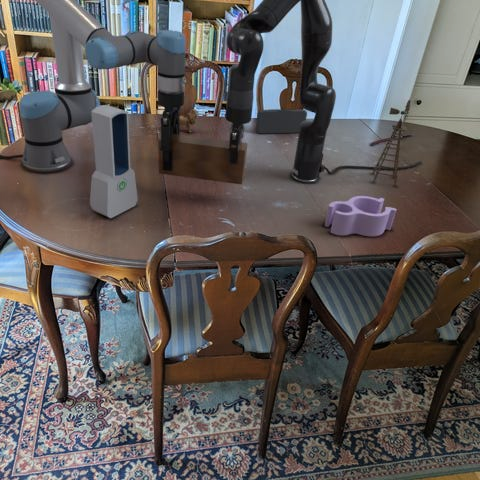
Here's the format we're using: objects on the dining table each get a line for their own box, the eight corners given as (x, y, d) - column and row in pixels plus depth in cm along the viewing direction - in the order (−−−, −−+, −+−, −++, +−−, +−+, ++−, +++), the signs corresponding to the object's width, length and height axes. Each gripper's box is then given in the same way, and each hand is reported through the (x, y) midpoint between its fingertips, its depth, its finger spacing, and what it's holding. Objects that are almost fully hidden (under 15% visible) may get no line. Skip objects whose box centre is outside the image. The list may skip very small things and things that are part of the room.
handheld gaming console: (301, 130, 212) (305, 108, 207) (304, 132, 210) (308, 110, 205) (254, 131, 205) (257, 109, 200) (256, 134, 203) (259, 111, 197)
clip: (337, 240, 135) (342, 219, 131) (318, 218, 145) (322, 198, 141) (395, 233, 141) (402, 213, 137) (373, 213, 151) (378, 194, 147)
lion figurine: (196, 128, 202) (197, 107, 197) (199, 132, 198) (200, 111, 193) (162, 129, 197) (162, 108, 192) (165, 133, 193) (165, 112, 188)
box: (158, 173, 143) (158, 139, 137) (163, 165, 149) (163, 132, 143) (241, 184, 142) (245, 150, 136) (244, 176, 147) (247, 143, 141)
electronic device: (108, 220, 133) (101, 117, 116) (89, 211, 136) (79, 109, 119) (138, 204, 142) (135, 106, 125) (120, 196, 145) (115, 100, 129)
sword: (408, 133, 222) (409, 131, 221) (413, 135, 220) (414, 133, 219) (365, 145, 206) (365, 142, 205) (370, 147, 204) (371, 145, 203)
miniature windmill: (395, 186, 170) (420, 105, 154) (372, 182, 171) (394, 101, 155) (394, 176, 177) (417, 97, 161) (371, 173, 178) (392, 94, 162)
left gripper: (175, 101, 124) (174, 180, 137) (191, 83, 140) (188, 155, 153) (148, 98, 125) (149, 176, 137) (166, 80, 141) (166, 152, 153)
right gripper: (249, 113, 126) (244, 170, 135) (255, 98, 138) (249, 151, 147) (222, 109, 126) (218, 166, 135) (230, 95, 138) (226, 148, 147)
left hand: (170, 165), depth 145 cm, fingers closed on box, 6 cm apart
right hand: (234, 158), depth 141 cm, fingers closed on box, 6 cm apart
